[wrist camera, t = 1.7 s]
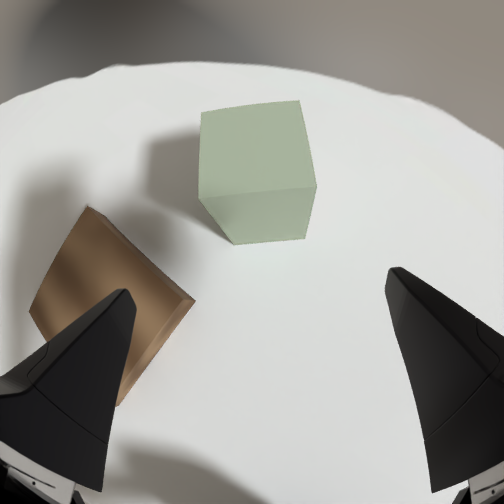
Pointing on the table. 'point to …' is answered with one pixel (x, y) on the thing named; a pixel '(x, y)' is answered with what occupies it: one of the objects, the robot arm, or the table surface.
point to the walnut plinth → (109, 290)
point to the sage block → (257, 172)
